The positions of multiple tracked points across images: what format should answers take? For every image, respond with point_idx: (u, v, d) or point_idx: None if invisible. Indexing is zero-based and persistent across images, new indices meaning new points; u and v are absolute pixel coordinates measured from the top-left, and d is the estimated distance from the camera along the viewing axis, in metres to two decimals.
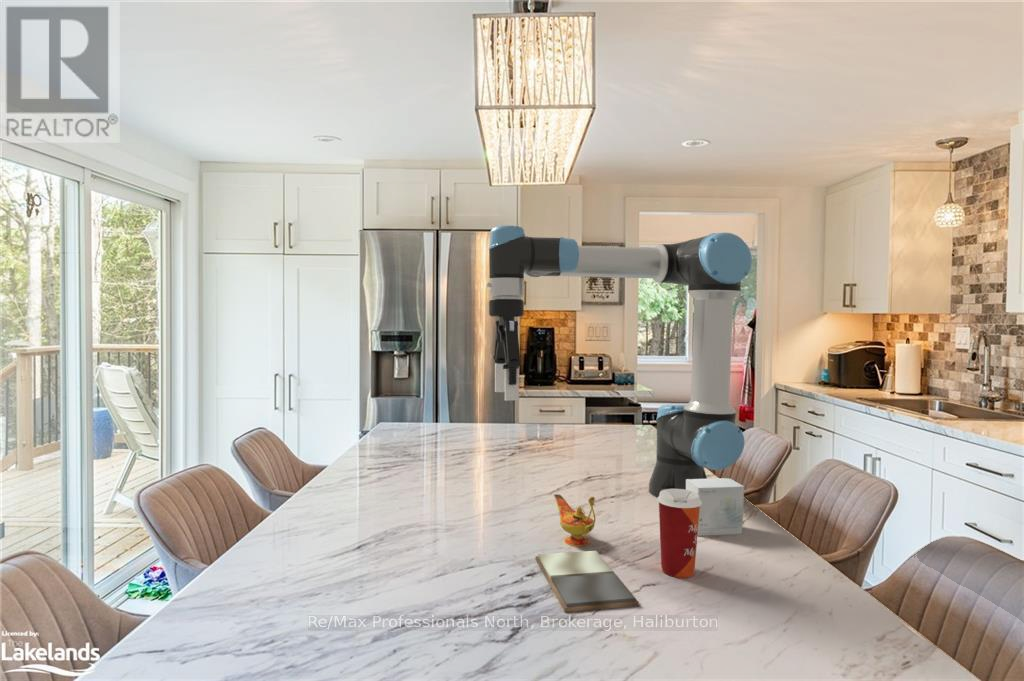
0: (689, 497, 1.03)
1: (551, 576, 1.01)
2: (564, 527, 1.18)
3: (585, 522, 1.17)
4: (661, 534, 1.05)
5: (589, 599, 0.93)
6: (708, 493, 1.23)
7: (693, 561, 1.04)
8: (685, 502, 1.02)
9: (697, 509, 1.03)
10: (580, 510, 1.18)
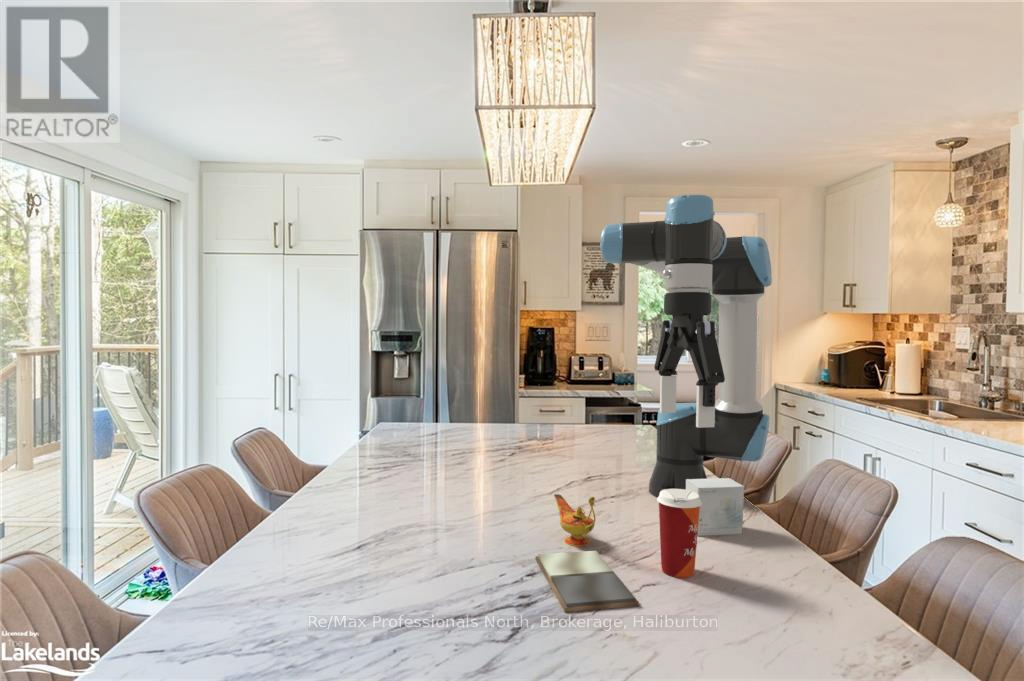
0: (689, 497, 1.03)
1: (551, 576, 1.01)
2: (564, 527, 1.18)
3: (586, 522, 1.17)
4: (661, 534, 1.05)
5: (589, 599, 0.93)
6: (708, 493, 1.23)
7: (693, 561, 1.04)
8: (685, 502, 1.02)
9: (697, 509, 1.03)
10: (580, 510, 1.18)
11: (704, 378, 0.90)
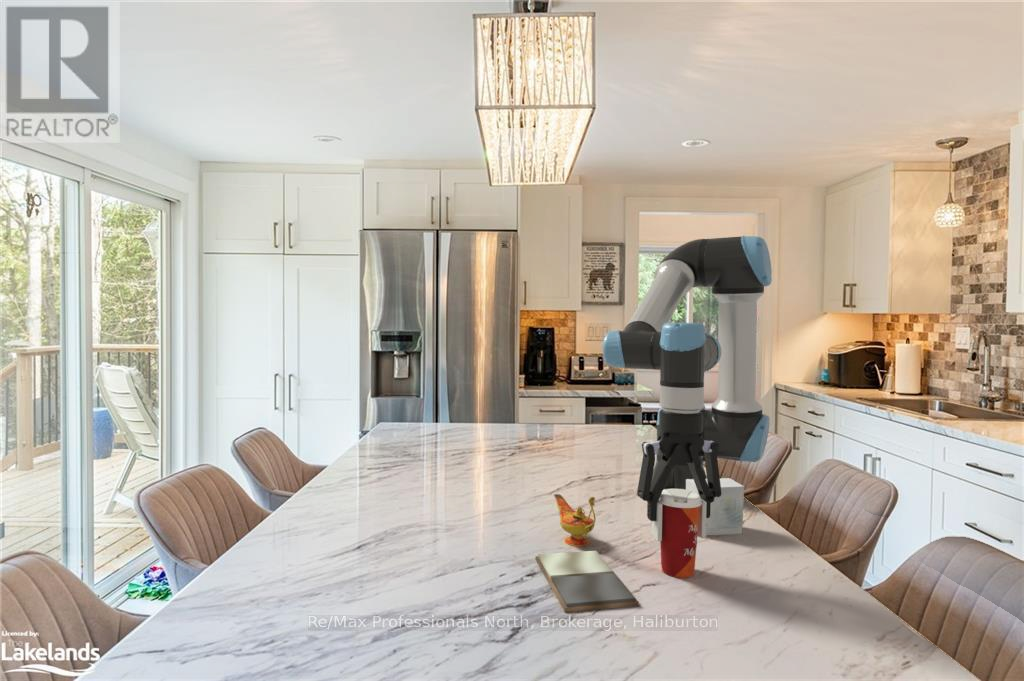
0: (689, 497, 1.03)
1: (551, 576, 1.01)
2: (564, 527, 1.18)
3: (586, 522, 1.17)
4: None
5: (589, 599, 0.93)
6: None
7: (693, 561, 1.04)
8: (685, 502, 1.02)
9: (697, 509, 1.03)
10: (580, 510, 1.18)
11: None
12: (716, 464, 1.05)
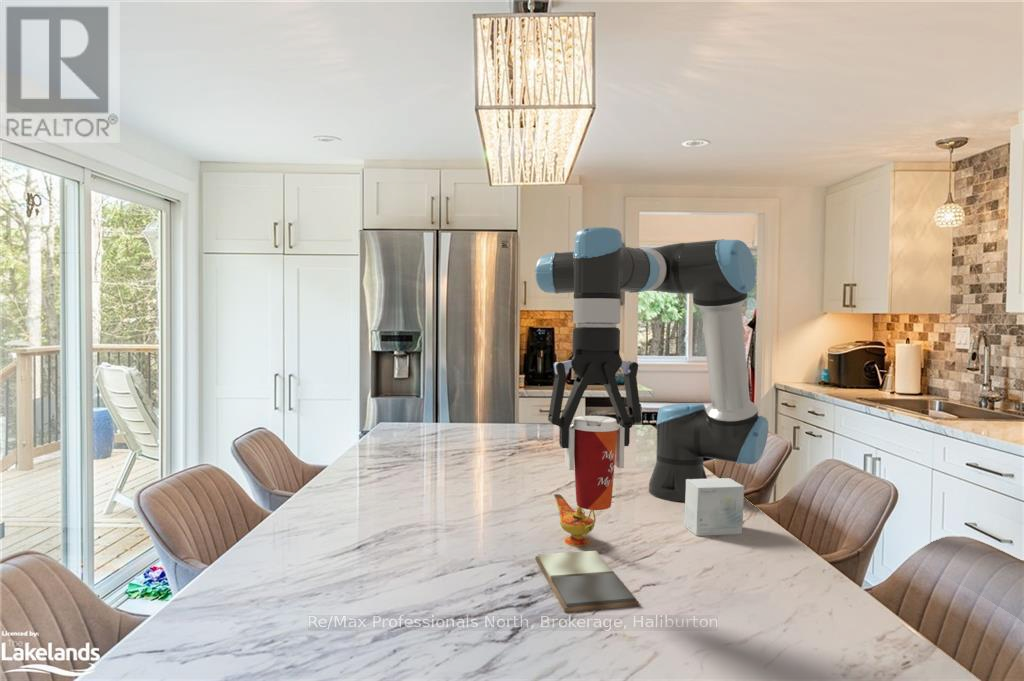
0: (604, 421, 0.94)
1: (551, 576, 1.01)
2: (564, 527, 1.18)
3: (586, 522, 1.17)
4: (575, 463, 0.96)
5: (589, 599, 0.93)
6: (708, 493, 1.23)
7: (609, 492, 0.94)
8: (599, 426, 0.93)
9: (613, 434, 0.93)
10: (580, 510, 1.18)
11: None
12: (635, 386, 0.96)
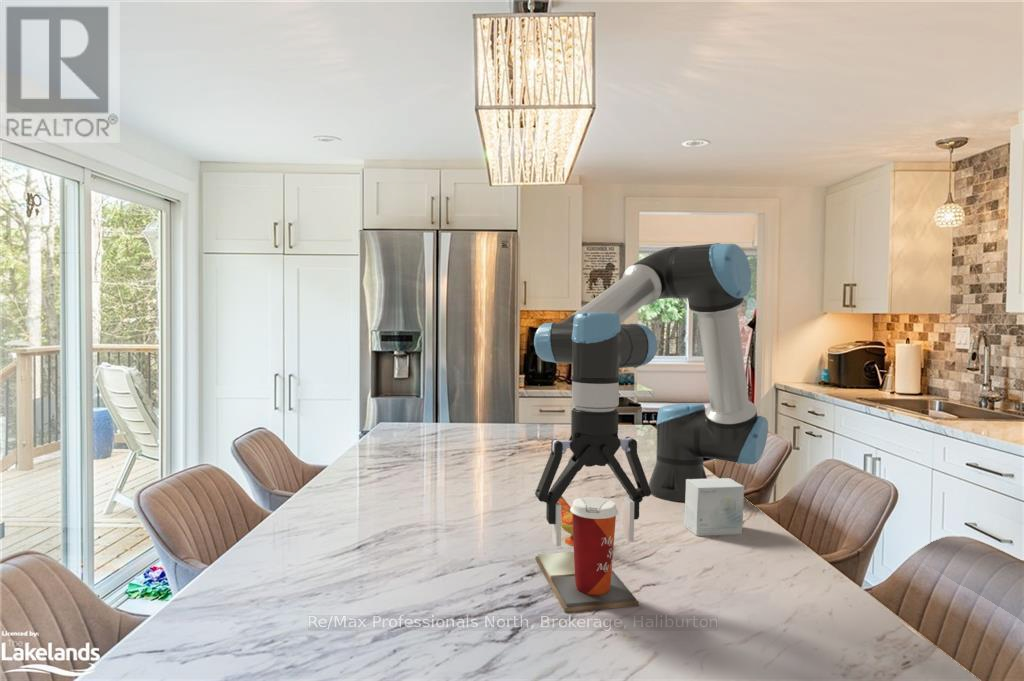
0: (603, 506, 0.94)
1: (551, 576, 1.01)
2: (564, 527, 1.18)
3: None
4: (574, 547, 0.96)
5: (589, 599, 0.93)
6: (708, 493, 1.23)
7: (608, 577, 0.95)
8: (598, 512, 0.93)
9: (611, 520, 0.94)
10: None
11: (547, 494, 0.96)
12: (638, 462, 0.96)
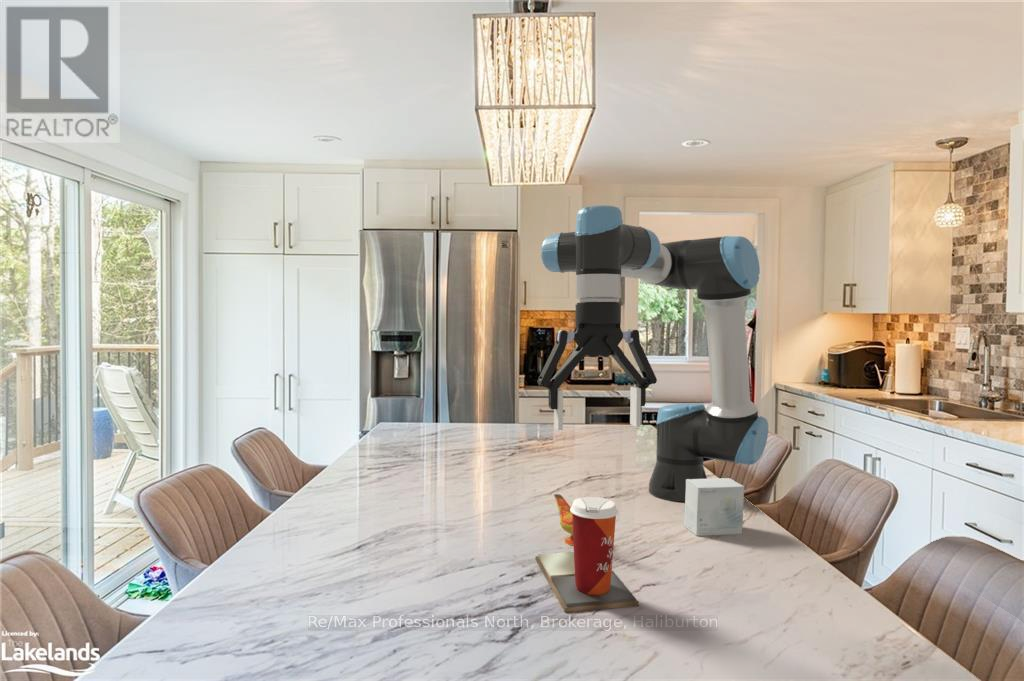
0: (603, 507, 0.94)
1: (551, 576, 1.01)
2: (564, 527, 1.18)
3: None
4: (574, 547, 0.96)
5: (589, 599, 0.93)
6: (708, 493, 1.23)
7: (608, 577, 0.95)
8: (598, 512, 0.93)
9: (611, 520, 0.94)
10: None
11: None
12: (642, 351, 1.00)
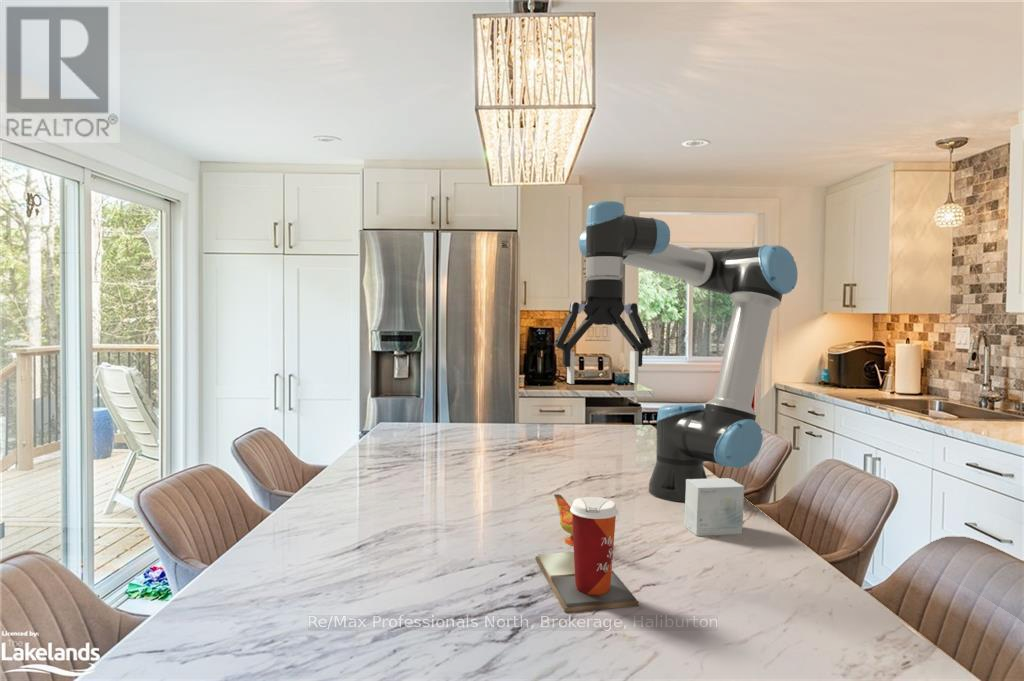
0: (603, 507, 0.94)
1: (551, 576, 1.01)
2: (564, 527, 1.18)
3: None
4: (574, 547, 0.96)
5: (589, 599, 0.93)
6: (708, 493, 1.23)
7: (608, 577, 0.95)
8: (598, 512, 0.93)
9: (611, 520, 0.94)
10: None
11: None
12: (639, 321, 1.22)
